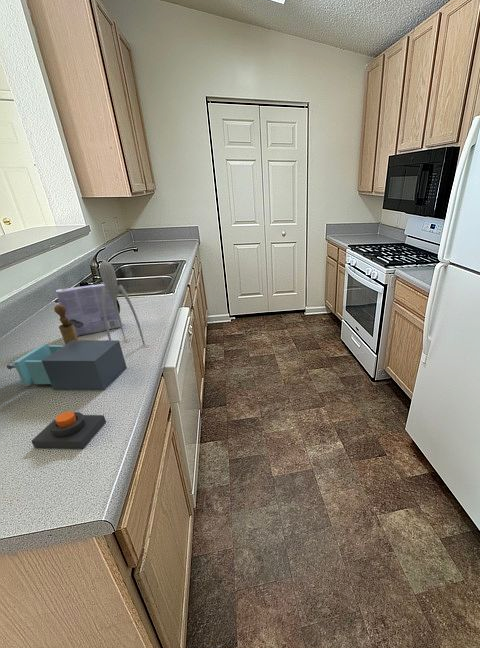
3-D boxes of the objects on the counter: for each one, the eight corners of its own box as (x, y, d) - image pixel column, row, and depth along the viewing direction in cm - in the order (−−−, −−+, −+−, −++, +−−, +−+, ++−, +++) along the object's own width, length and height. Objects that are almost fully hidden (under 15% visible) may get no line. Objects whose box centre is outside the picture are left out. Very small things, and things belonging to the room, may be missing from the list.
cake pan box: (124, 322, 137) (112, 280, 129) (126, 326, 133) (114, 283, 125) (69, 333, 128) (54, 289, 120) (70, 338, 124) (53, 292, 116)
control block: (34, 448, 73) (27, 434, 71) (62, 421, 81) (56, 408, 79) (83, 449, 72) (77, 435, 71) (106, 422, 80) (101, 409, 79)
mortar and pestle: (91, 350, 115) (74, 301, 107) (83, 359, 109) (65, 307, 101) (70, 352, 114) (52, 302, 106) (61, 361, 108) (41, 309, 100)
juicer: (139, 351, 114) (117, 263, 100) (112, 352, 113) (86, 264, 100) (149, 338, 123) (130, 256, 110) (124, 339, 122) (101, 257, 109)
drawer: (7, 386, 94) (-5, 362, 90) (37, 365, 104) (27, 343, 100) (70, 386, 93) (61, 362, 90) (94, 366, 103) (86, 343, 100)
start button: (54, 427, 73) (51, 421, 73) (64, 417, 77) (62, 411, 76) (69, 427, 73) (67, 421, 73) (80, 417, 77) (77, 411, 76)
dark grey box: (53, 390, 93) (41, 360, 89) (81, 367, 104) (72, 340, 100) (104, 390, 93) (94, 360, 88) (127, 367, 104) (119, 340, 100)
